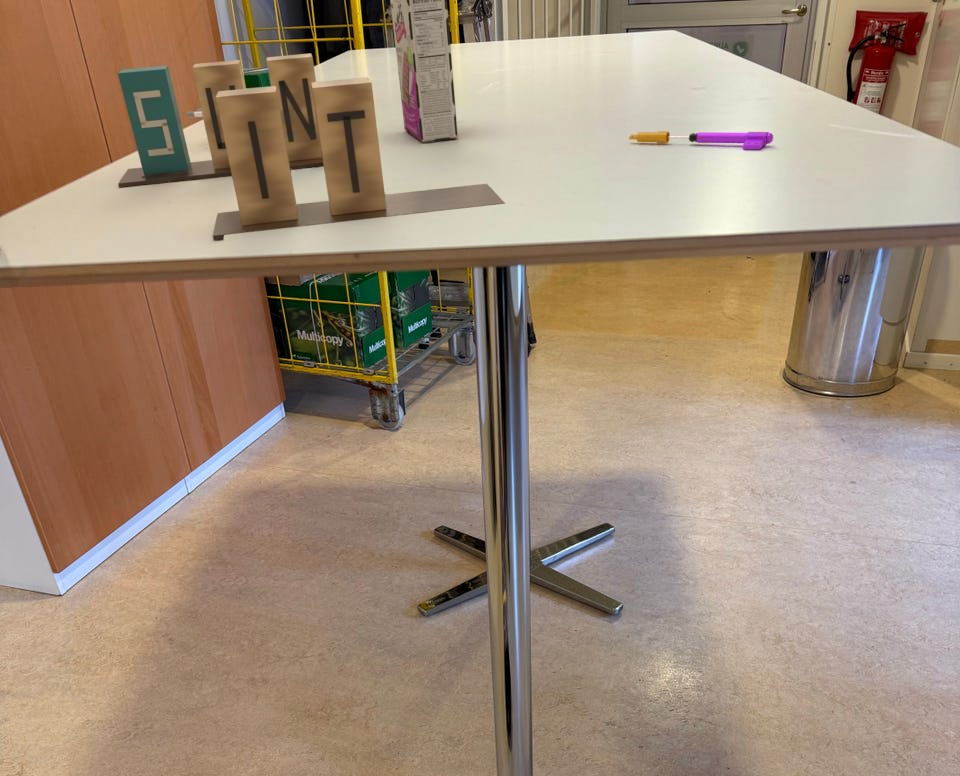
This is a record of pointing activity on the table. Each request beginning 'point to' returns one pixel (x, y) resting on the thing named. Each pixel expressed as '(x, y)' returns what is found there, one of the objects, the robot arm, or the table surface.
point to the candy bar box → (425, 68)
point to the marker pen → (710, 138)
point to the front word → (345, 161)
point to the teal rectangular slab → (155, 119)
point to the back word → (210, 78)
